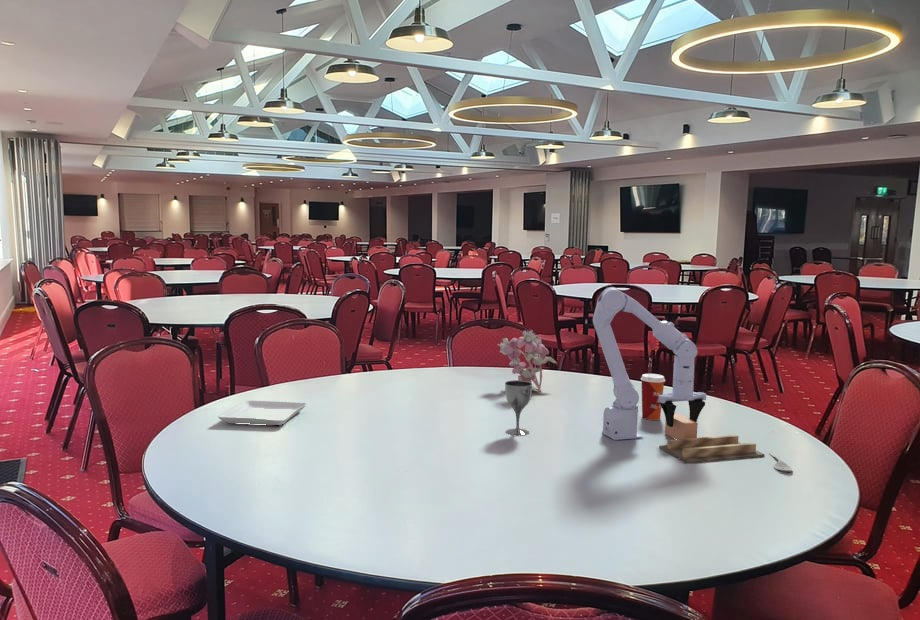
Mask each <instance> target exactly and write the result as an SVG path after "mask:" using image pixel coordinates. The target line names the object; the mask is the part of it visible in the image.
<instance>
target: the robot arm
mask: <svg viewBox="0 0 920 620" xmlns="http://www.w3.org/2000/svg"><path fill="white" fill-rule="evenodd" d="M595 305H596V306H595V309H594V313H593V316H592V324H593V326H594V329H595V332H596V335H597V338H598V341H599V344H600V346H601V350H602V352H603V356H604V358H605V361H606V364H607V367H608V369H609V373H610V375H611V378H612V383H613V395H614V397H615V398H616V399H614V401H613V402H612V405H611V406H607V407H605V408H604V410H603V417H602V418H603V419H602V421H603V422H602V430H601V433H602V434H604V435H605V436H606V437H609V438H610V439H612V440H613V441H617V440H618V441H619V440H630V439H631V440H633V439H642V438H644V437H643V435H641V434H640V433H639V432H638V416H639V415H638V414H639V404H638V403H639V400H640V395H639V393H638V391H637V390H636V388H635V385H633V383H632V381H631V380H630V378H629V375H628V373H627V370H626V366H625V362H624V361H623V358H622V354H621V351H620V349H619V346H618V343H617V340H616V337H615V334H614V331H613V328H612V326H611V323H612V321H613V319H614V318H615V316H616V315H617V313H619V312H620V311H622V312H625V313H630V314H631V313H632V314H633V315H634V316H636V318H638V319H639V320H640V321H642V322H643V323H644V324H645V325H647V326H648V327H650V328H651V329H652V336H653V337H654V338H656V340H658V341H659V342H660V343H661V344H662V345H664V346H665V347H667V348H668V350H672V352H673V354H674V357H673V358H674V359H673V361H674V362H673V374H672V376H673V377H672V392H669V393H665V394H664V393H663V395H659V402H660V405H661V410H662V411H663V414H664V417H665V421H666V422H667V425H668V426H670V427H673V423H674V414H676V409H677V405H676V404H674V403H675V402H688V408H689V409H688V410H689V418H688V419H690V420H692V421H694V422H697V423H698V420H699V416H700V414H701V412H702V410H703V409H704V407H705V406H706V402H705V401H706V400H707V393H705V392H700V391H698V392H695V391H694V383H695V381H694V380H695V358H696V357H697V355H698V352H699V351H698V349H697V348H698V347H697V346H696V344H695V343H694V342H693V341H692V340H691V339H689V337H688V335H687V334H686V333H682V332H681V331H679V330H678V329H677V328H676V327H675V323H673V322H672V321H667V320H662V321H661V320H659V319H658V318H657V317H656V316H654V315H653V314H652V313H651V312H650V311H648V309H646V307H644V305H642V304H641V303H640V302H639V301H637V300H636V299H634V298H632V297H631V296H629V295H628V294H626V293H624V292H622V291H621V290H620V289H618V287H614V286H610V287H606V288H605V289H604V290H603V291H602V292H601V293H600V295H599V296H598V298H597V302H596V304H595Z"/></svg>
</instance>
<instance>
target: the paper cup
mask: <svg viewBox="0 0 920 620" xmlns="http://www.w3.org/2000/svg"><path fill="white" fill-rule="evenodd" d="M640 380H641V416H642V419H644V418H646V419H645V420H647V419H651V420H650V421H658V419H659V420H660V419H661V414H662V407H661V405H660V402H659V395H664V389H665V388H664V387H665V382H666V379H665V376H664V375H662V374H657V373H644V374H643V373H642V375H641V377H640Z"/></svg>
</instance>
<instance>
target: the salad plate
mask: <svg viewBox="0 0 920 620" xmlns="http://www.w3.org/2000/svg"><path fill="white" fill-rule="evenodd" d="M306 405H307V403H305V402H292V401H278V400H277V401H276V400H275V401H274V400H273V401H271V400H245V401H243V402H241V403H240V404H237V405H236V406H234V407H232V408H229V410H226V411H225V412H224V413H221V414H220V415H219V416H218V419H219V420H221V421H222V422H225V423H227V422H228V424H233V423H250V424H266V425H279V426H282V424H283V425H284V424H285V423H287V421H289V420H290V419H291V418H293V417H294V416H295V415H297V414H298V413H300V411H302V410H303V409H304V408H305V407H306ZM250 408H264V409H292V410H296V411H294V412H293V413H292V414H291V415H290V416H289V417H287V418H286V419H284V420H267V419H256V418H236V417H237V416H239V415H240V414H242V413H244V412H246V411H247V410H248V409H250ZM296 413H297V414H296Z"/></svg>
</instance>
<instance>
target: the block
mask: <svg viewBox="0 0 920 620" xmlns="http://www.w3.org/2000/svg"><path fill="white" fill-rule="evenodd" d="M698 424H699V423H698V421H697V422H694V421H692V420H690V419H689V418H688V417H686V416H684V415H682V414H679V413H674V423H673V427H670V426H668V425H667V422H666V420H665V426H664V434H665V433H666V434H665V435H667V434H668V435H667V436H669V437H671V438H672V437H673V439H674V438H675V439H674V440H676V439H690V438H698Z"/></svg>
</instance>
